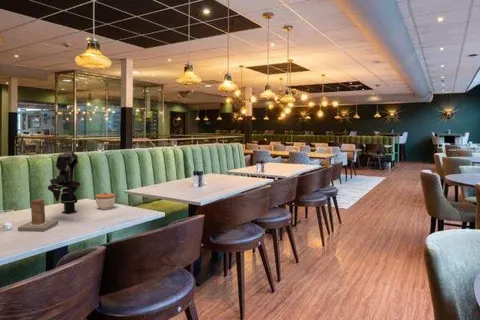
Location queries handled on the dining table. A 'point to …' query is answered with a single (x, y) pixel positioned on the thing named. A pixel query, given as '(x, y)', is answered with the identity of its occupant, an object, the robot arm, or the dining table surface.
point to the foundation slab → (38, 226)
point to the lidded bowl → (105, 200)
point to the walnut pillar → (38, 211)
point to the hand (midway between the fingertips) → (63, 200)
